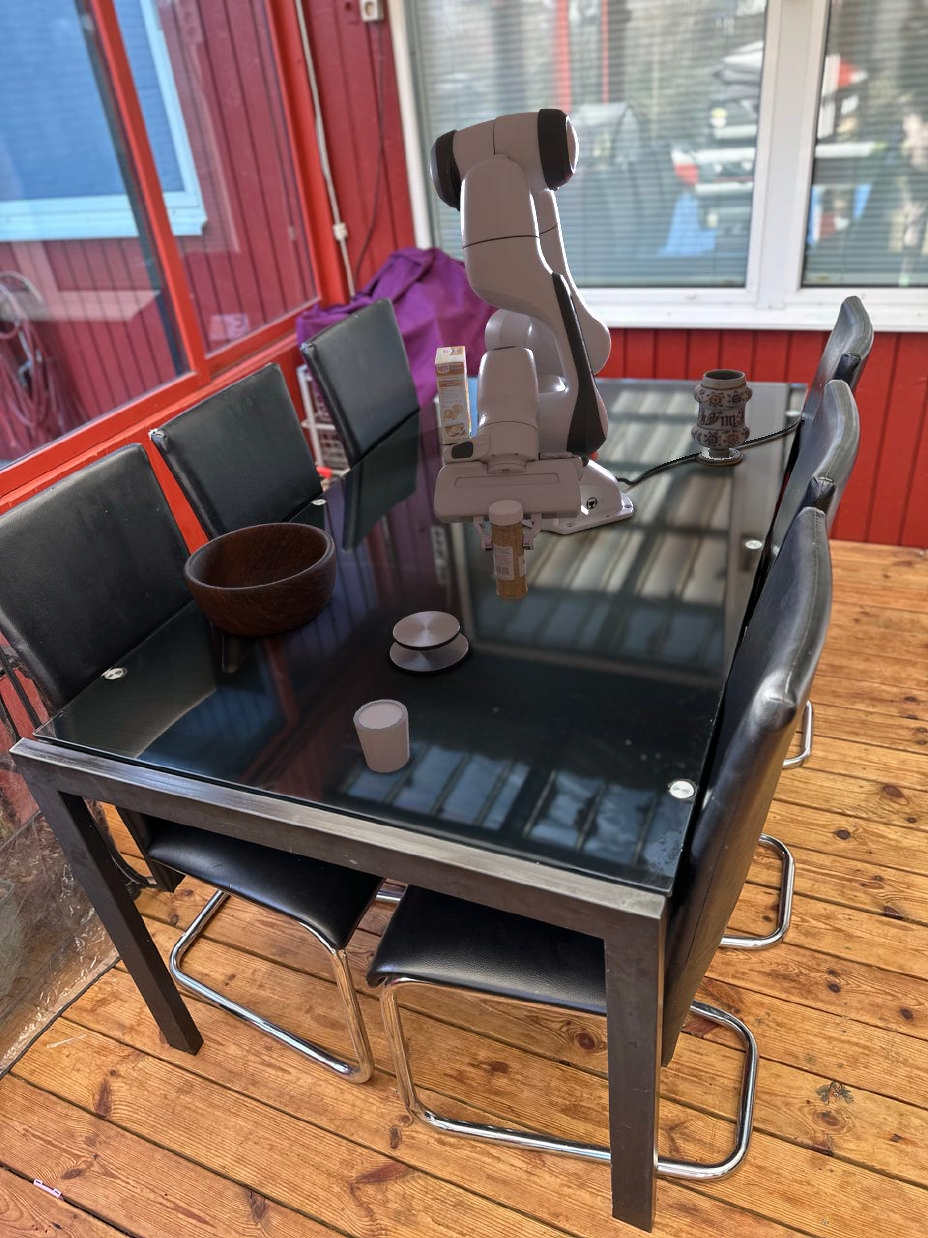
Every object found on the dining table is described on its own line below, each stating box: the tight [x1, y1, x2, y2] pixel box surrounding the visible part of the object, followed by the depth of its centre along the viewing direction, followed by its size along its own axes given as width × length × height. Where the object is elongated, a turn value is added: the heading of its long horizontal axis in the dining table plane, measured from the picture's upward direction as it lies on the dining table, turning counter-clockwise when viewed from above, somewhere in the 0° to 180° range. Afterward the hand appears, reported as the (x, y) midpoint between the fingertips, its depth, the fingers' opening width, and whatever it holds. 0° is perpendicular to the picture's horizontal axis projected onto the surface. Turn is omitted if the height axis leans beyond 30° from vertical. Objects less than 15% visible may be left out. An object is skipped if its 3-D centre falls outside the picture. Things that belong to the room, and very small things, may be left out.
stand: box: [389, 610, 470, 676], centre depth 134 cm, size 12×12×4 cm
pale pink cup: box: [352, 699, 410, 773], centre depth 113 cm, size 7×7×7 cm
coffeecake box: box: [434, 345, 472, 445], centre depth 215 cm, size 15×7×20 cm, turn 179°
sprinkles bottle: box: [489, 500, 529, 601], centre depth 121 cm, size 5×5×14 cm
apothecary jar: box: [690, 368, 754, 466], centre depth 186 cm, size 12×12×18 cm
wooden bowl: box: [183, 522, 337, 637], centre depth 149 cm, size 25×25×10 cm
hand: (507, 549), depth 120 cm, fingers closed on sprinkles bottle, 4 cm apart
